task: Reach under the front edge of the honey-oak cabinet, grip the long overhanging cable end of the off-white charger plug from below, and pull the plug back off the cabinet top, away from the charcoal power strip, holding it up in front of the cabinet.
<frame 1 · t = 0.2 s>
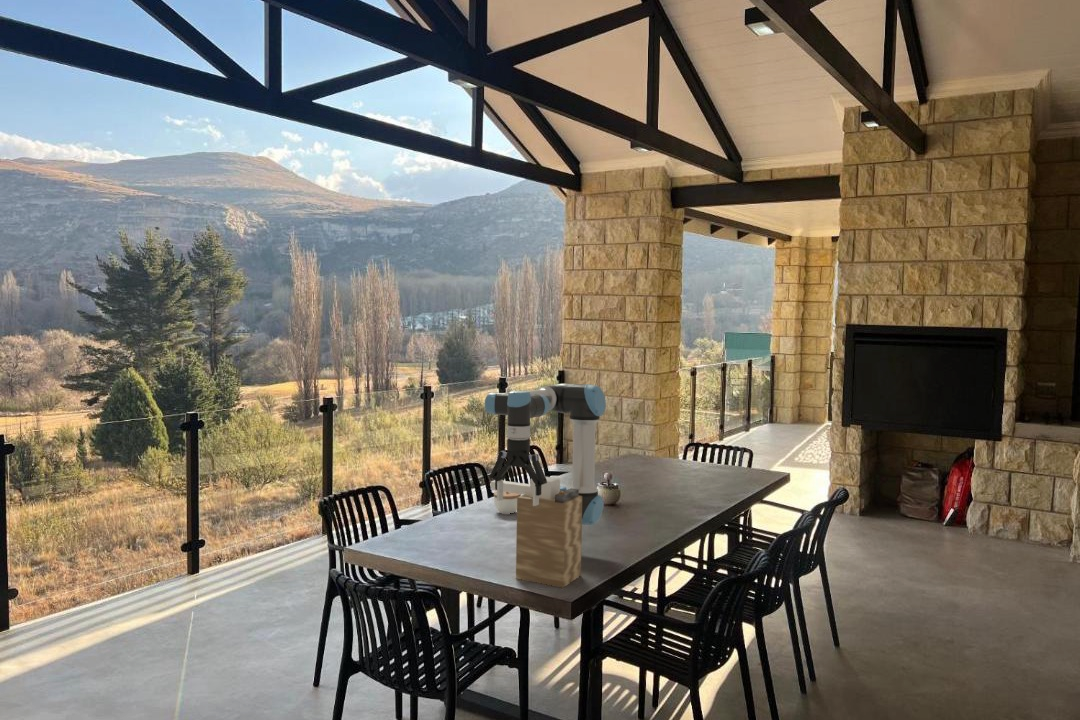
hand: (517, 502, 239), 28 cm above the table, tool pointing down, fingers open, 13 cm apart
cabinet: (548, 577, 252), on the table
lidded bowl: (506, 513, 341), on the table
charger plug: (534, 494, 253), point 28 cm above the table, touching cabinet
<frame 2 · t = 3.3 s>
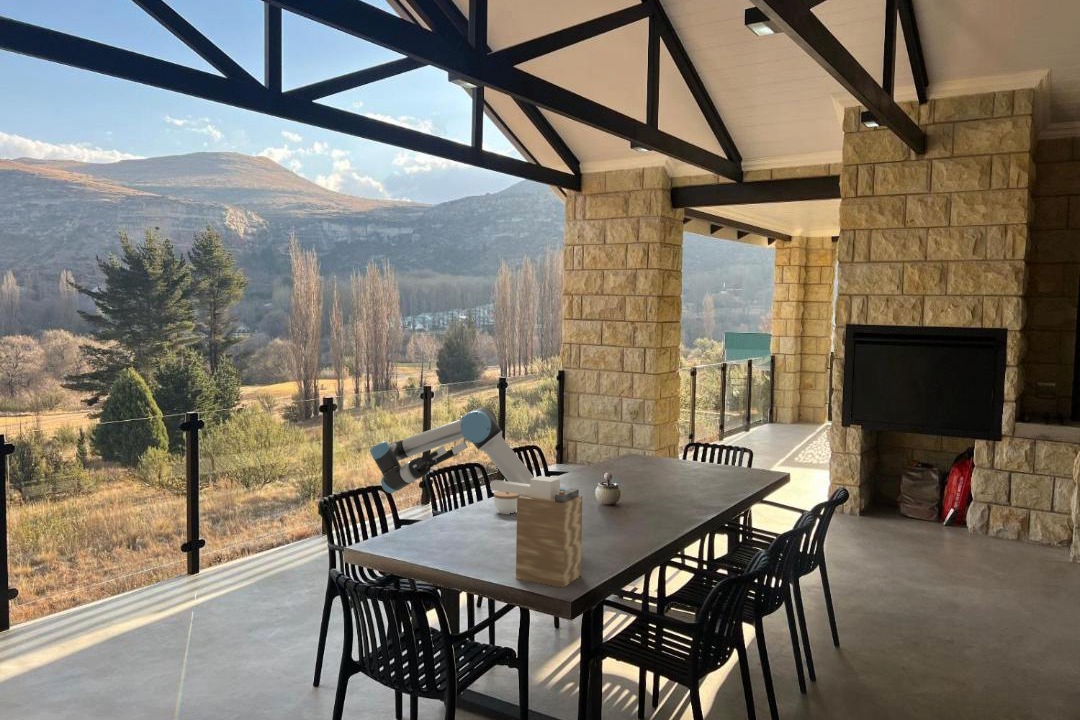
hand: (455, 446, 269), 42 cm above the table, tool pointing upward, fingers open, 13 cm apart
nothing on the table moved.
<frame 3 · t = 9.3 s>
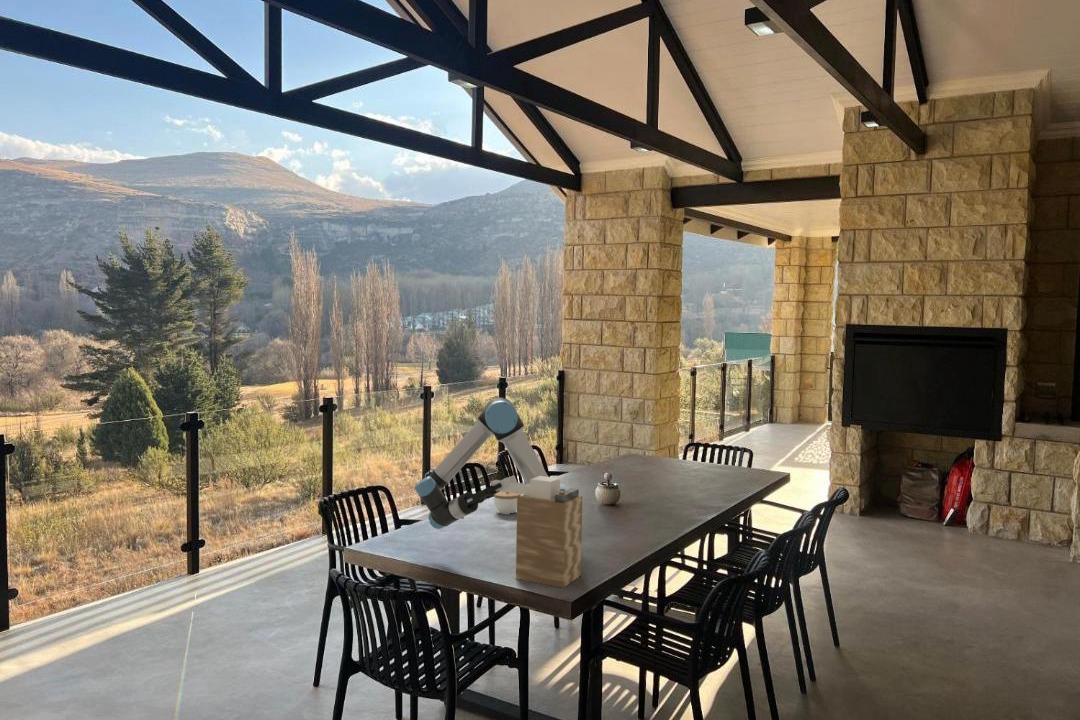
hand: (511, 479, 258), 32 cm above the table, tool pointing upward, fingers closed on charger plug, 3 cm apart
charger plug: (534, 494, 253), point 28 cm above the table, touching cabinet, gripper
everything else where it was.
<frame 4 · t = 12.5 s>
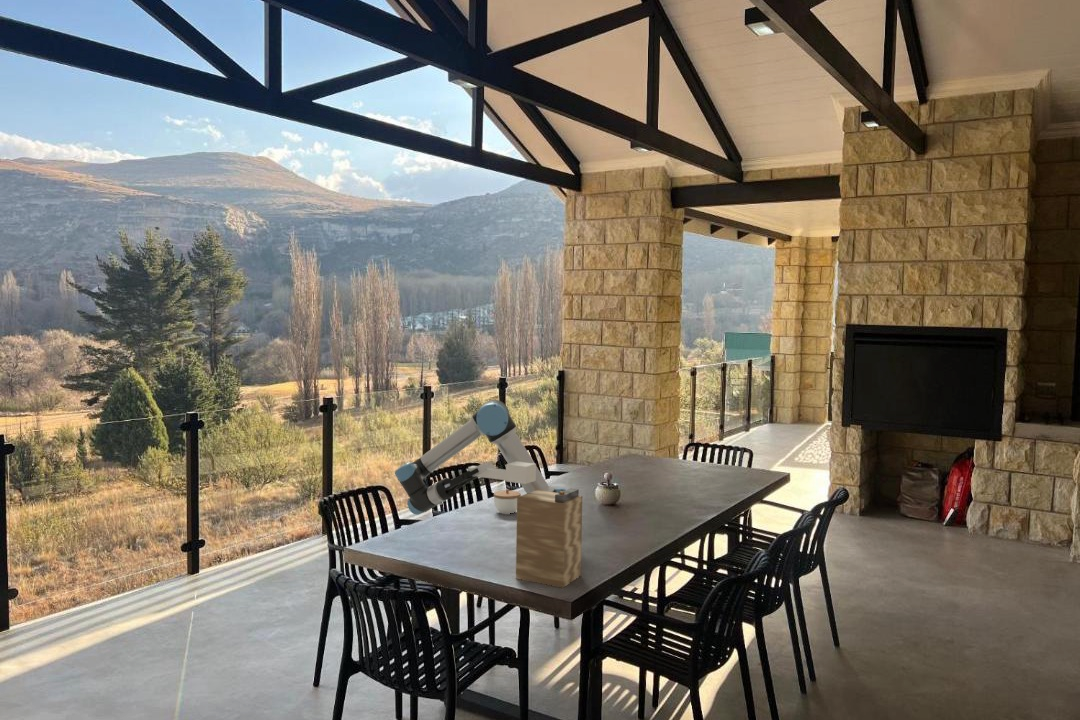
hand: (488, 465, 261), 37 cm above the table, tool pointing upward, fingers closed on charger plug, 3 cm apart
charger plug: (511, 479, 257), point 32 cm above the table, touching gripper
everything else where it was.
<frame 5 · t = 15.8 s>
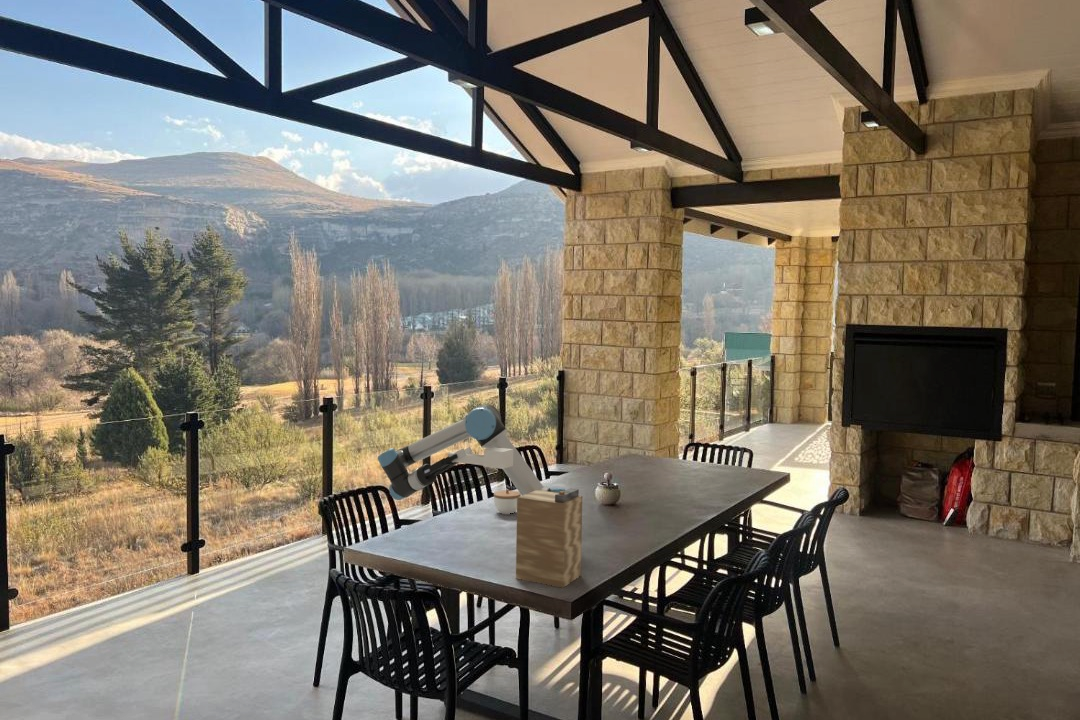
hand: (467, 451, 266), 41 cm above the table, tool pointing upward, fingers closed on charger plug, 3 cm apart
charger plug: (488, 465, 262), point 36 cm above the table, touching gripper
everything else where it was.
at the end: charger plug touching gripper; charger plug inside the target area (2.0 cm from its centre), point 36.4 cm above the table; the gripper is holding charger plug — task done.
